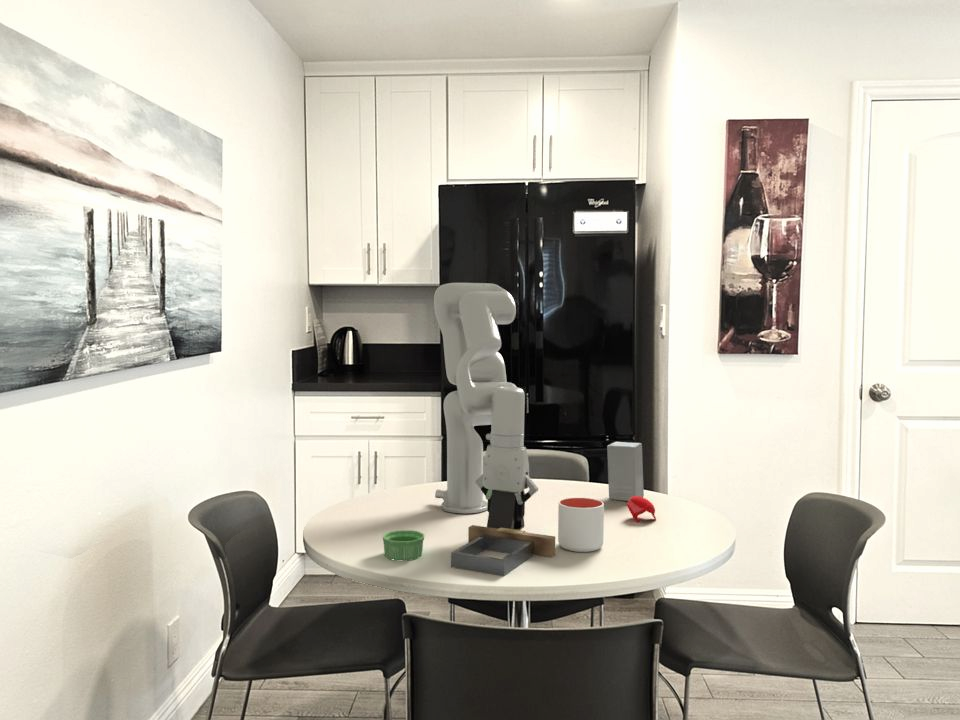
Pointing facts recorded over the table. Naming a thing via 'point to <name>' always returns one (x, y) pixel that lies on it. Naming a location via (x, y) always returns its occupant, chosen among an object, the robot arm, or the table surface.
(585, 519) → the cup
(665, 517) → the table surface
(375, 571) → the table surface
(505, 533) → the door edge rail
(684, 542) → the table surface
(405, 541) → the ramekin
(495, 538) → the frame
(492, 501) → the phone stand
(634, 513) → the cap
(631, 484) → the skincare box
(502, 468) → the robot arm
